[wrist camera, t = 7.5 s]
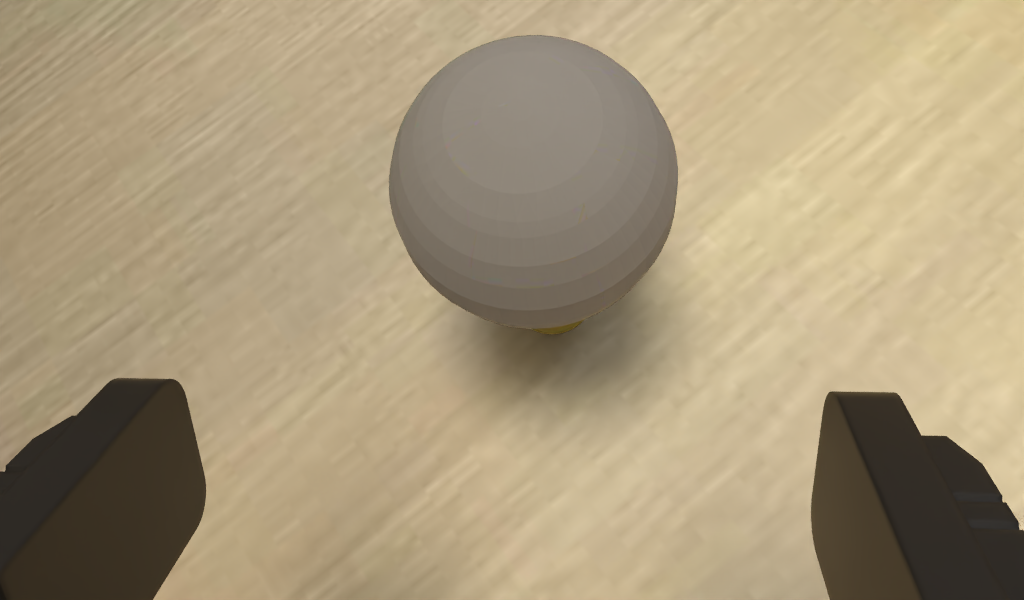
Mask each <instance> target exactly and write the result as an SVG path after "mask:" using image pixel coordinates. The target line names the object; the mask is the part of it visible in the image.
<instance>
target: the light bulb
mask: <svg viewBox="0 0 1024 600" xmlns="http://www.w3.org/2000/svg"><path fill="white" fill-rule="evenodd" d="M677 184H678V166H677V156H676V151H675V146H674V143H673V140H672V136H671V133H670V131H669V129H668V126H667V124H666V122H665V120H664V118H663V116H662V115H661V113H660V111H659V110H658V108H657V106H656V105H655V103H654V101H653V99H652V98H651V96H650V95H649V93H648V92H647V91H646V89H645V88H644V87H643V86H642V85H641V83H640V82H639V81H638V80H637V79H636V78H635V77H634V76H633V75H632V74H631V73H629V72H628V71H627V70H626V69H625V68H623V67H622V66H621V65H619V64H618V63H616V62H615V61H614V60H612V59H611V58H610V57H608V56H606V55H605V54H603V53H601V52H600V51H598V50H596V49H594V48H592V47H589V46H587V45H585V44H582V43H579V42H576V41H572V40H569V39H565V38H559V37H553V36H542V35H527V36H516V37H510V38H504V39H500V40H496V41H492V42H489V43H487V44H484V45H481V46H479V47H476V48H474V49H472V50H470V51H468V52H466V53H464V54H462V55H460V56H459V57H457V58H456V59H454V60H453V61H451V62H450V63H448V64H447V65H446V66H445V67H443V68H442V69H441V70H440V71H439V72H438V73H437V74H436V75H434V76H433V77H432V78H431V80H430V81H429V82H428V83H427V84H426V85H425V86H424V88H423V89H422V90H421V92H420V93H419V94H418V96H417V97H416V99H415V100H414V102H413V103H412V105H411V107H410V108H409V110H408V112H407V113H406V115H405V117H404V119H403V122H402V124H401V126H400V129H399V132H398V134H397V137H396V142H395V146H394V150H393V156H392V161H391V168H390V175H389V195H390V204H391V209H392V214H393V217H394V221H395V224H396V227H397V229H398V231H399V234H400V236H401V238H402V240H403V243H404V245H405V247H406V249H407V251H408V253H409V255H410V257H411V259H412V261H413V262H414V264H415V266H416V267H417V268H418V270H419V271H420V273H421V274H422V275H423V277H424V278H425V279H426V280H427V281H428V282H429V283H430V284H431V285H432V286H433V287H434V288H435V289H436V290H437V291H438V292H439V293H440V294H441V295H443V296H444V297H446V298H447V299H448V300H450V301H451V302H453V303H454V304H456V305H458V306H459V307H461V308H463V309H465V310H466V311H468V312H470V313H472V314H474V315H476V316H479V317H481V318H483V319H485V320H488V321H491V322H494V323H497V324H501V325H505V326H510V327H517V328H529V329H532V330H534V331H537V332H539V333H544V334H559V333H564V332H567V331H569V330H572V329H573V328H575V327H576V326H578V325H579V324H580V323H581V322H582V321H583V320H585V319H587V318H589V317H591V316H593V315H595V314H598V313H599V312H601V311H603V310H605V309H606V308H608V307H610V306H611V305H612V304H614V303H615V302H617V301H618V300H620V299H621V298H622V297H623V296H624V295H625V294H626V293H628V292H629V291H630V290H631V289H632V288H633V287H634V285H635V284H636V283H637V282H638V281H639V280H640V279H641V278H642V277H643V276H644V275H645V274H646V272H647V271H648V270H649V268H650V267H651V266H652V264H653V263H654V262H655V260H656V258H657V257H658V255H659V254H660V252H661V250H662V248H663V246H664V244H665V242H666V240H667V237H668V234H669V232H670V229H671V226H672V222H673V217H674V212H675V205H676V195H677Z"/></svg>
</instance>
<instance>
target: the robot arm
mask: <svg viewBox="0 0 1024 600" xmlns="http://www.w3.org/2000/svg"><path fill="white" fill-rule="evenodd" d="M205 499H206V482H205V476H204V471H203V467H202V463H201V458H200V454H199V450H198V445H197V441H196V437H195V433H194V428H193V424H192V420H191V415H190V411H189V407H188V403H187V398H186V395H185V392H184V390H183V388H182V386H181V384H180V383H179V382H178V381H176V380H174V379H136V378H117V379H113V380H111V381H110V382H109V383H108V384H106V386H105V387H104V388H103V389H102V390H101V391H100V392H99V393H98V394H97V395H96V396H95V397H94V398H93V399H92V400H91V401H90V402H89V403H88V404H87V405H86V406H85V407H84V408H83V409H82V410H81V411H80V412H79V413H78V415H77V416H71V417H69V418H67V419H66V420H64V421H62V422H61V423H59V424H57V425H56V426H54V427H52V428H50V429H49V430H47V431H45V432H44V433H42V434H40V435H39V436H37V437H35V438H34V439H32V440H31V441H30V442H29V443H28V444H27V445H26V446H25V447H24V448H23V449H22V450H21V451H20V452H19V453H18V454H17V455H16V456H15V457H14V458H13V459H12V460H11V461H10V462H9V463H8V464H7V465H6V470H5V472H0V600H153V598H154V597H155V595H156V594H157V592H158V590H159V589H160V587H161V585H162V584H163V582H164V581H165V579H166V577H167V576H168V574H169V573H170V571H171V569H172V568H173V566H174V565H175V563H176V561H177V560H178V558H179V556H180V555H181V553H182V552H183V550H184V548H185V547H186V545H187V544H188V542H189V540H190V539H191V537H192V536H193V534H194V532H195V531H196V529H197V527H198V525H199V523H200V521H201V518H202V515H203V511H204V506H205ZM811 522H812V534H813V541H814V546H815V551H816V554H817V558H818V561H819V564H820V568H821V571H822V575H823V578H824V581H825V585H826V588H827V591H828V595H829V598H830V600H1024V531H1023V530H1019V523H1018V521H1017V519H1016V518H1015V516H1014V514H1013V513H1012V511H1011V510H1010V508H1009V506H1008V505H1007V503H1003V502H1002V495H1001V493H1000V492H999V490H998V489H997V487H996V485H995V484H994V482H993V480H992V479H991V477H990V476H989V474H988V472H987V471H986V469H985V467H984V466H983V464H982V463H980V462H979V461H978V460H977V459H975V458H974V457H973V456H971V455H970V454H969V453H967V452H966V451H965V450H964V449H962V448H961V447H960V446H958V445H957V444H956V443H955V442H953V441H952V440H951V439H949V438H948V437H947V436H921V434H920V432H919V431H918V429H917V427H916V425H915V423H914V421H913V419H912V418H911V416H910V414H909V412H908V410H907V408H906V406H905V405H904V403H903V401H902V399H901V398H900V396H899V395H898V394H897V393H888V392H829V393H828V395H827V397H826V400H825V403H824V408H823V415H822V423H821V431H820V438H819V446H818V454H817V461H816V469H815V477H814V485H813V492H812V503H811Z"/></svg>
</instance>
